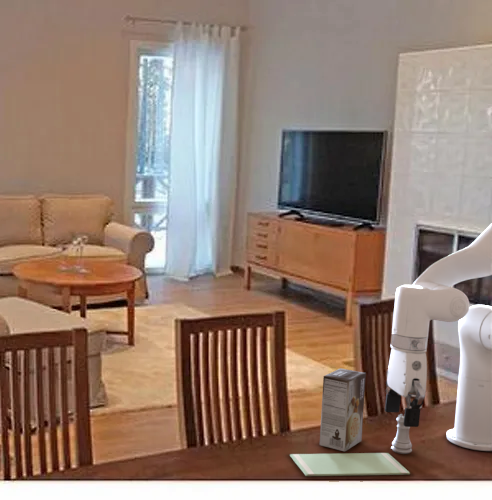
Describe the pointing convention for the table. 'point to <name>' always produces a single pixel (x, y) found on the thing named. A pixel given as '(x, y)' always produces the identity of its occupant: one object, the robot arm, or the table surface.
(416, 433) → the table surface
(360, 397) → the coffee box
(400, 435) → the rook chess piece
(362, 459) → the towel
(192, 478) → the table surface
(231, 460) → the table surface
